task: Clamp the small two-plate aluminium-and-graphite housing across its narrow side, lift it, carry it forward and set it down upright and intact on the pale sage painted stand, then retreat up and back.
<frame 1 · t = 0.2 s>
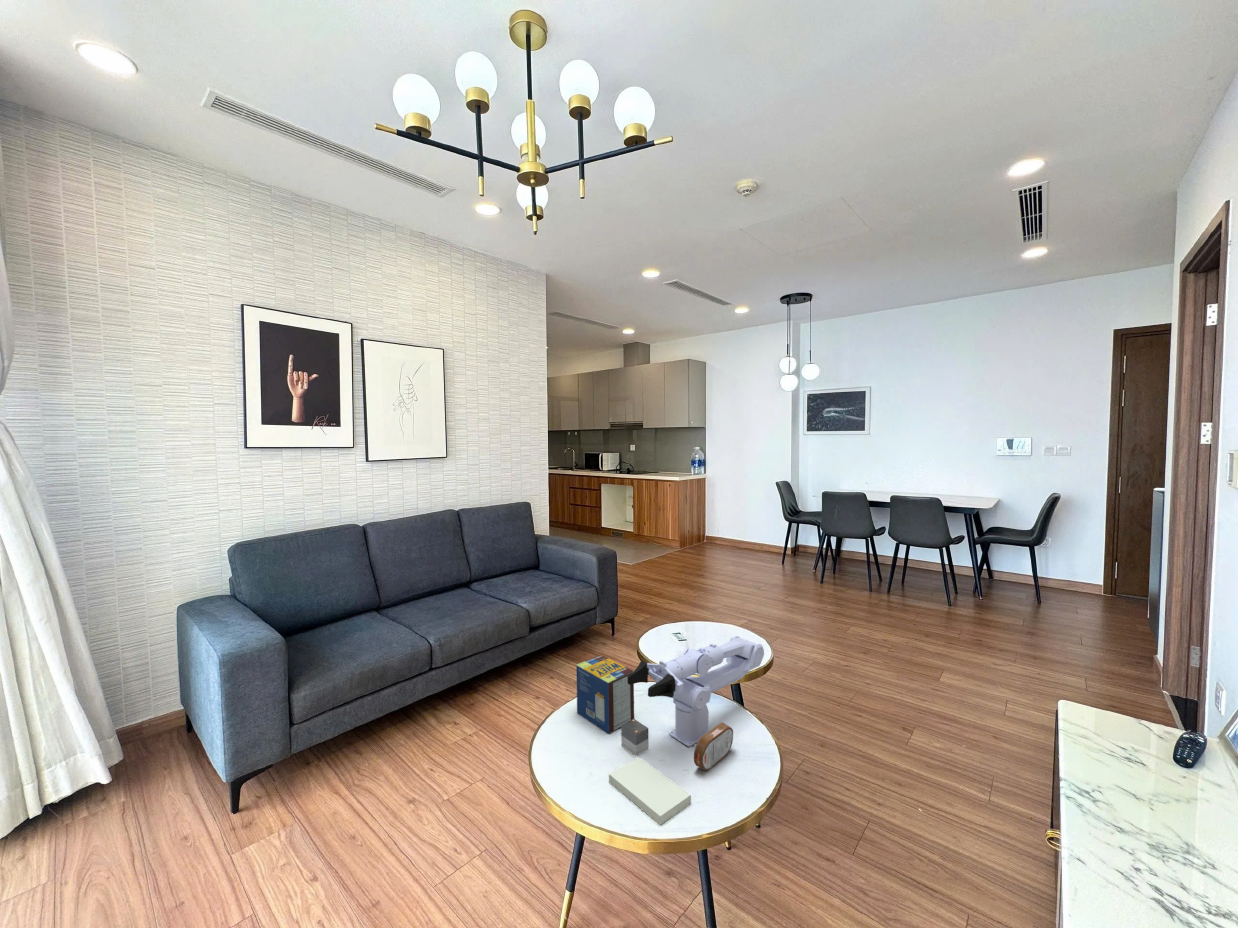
hand: (638, 686, 128), 21 cm above the table, tool horizontal, fingers open, 7 cm apart
housing: (634, 747, 137), on the table
sage stand: (648, 791, 119), on the table
protein box: (605, 717, 152), on the table
tin: (714, 761, 131), on the table
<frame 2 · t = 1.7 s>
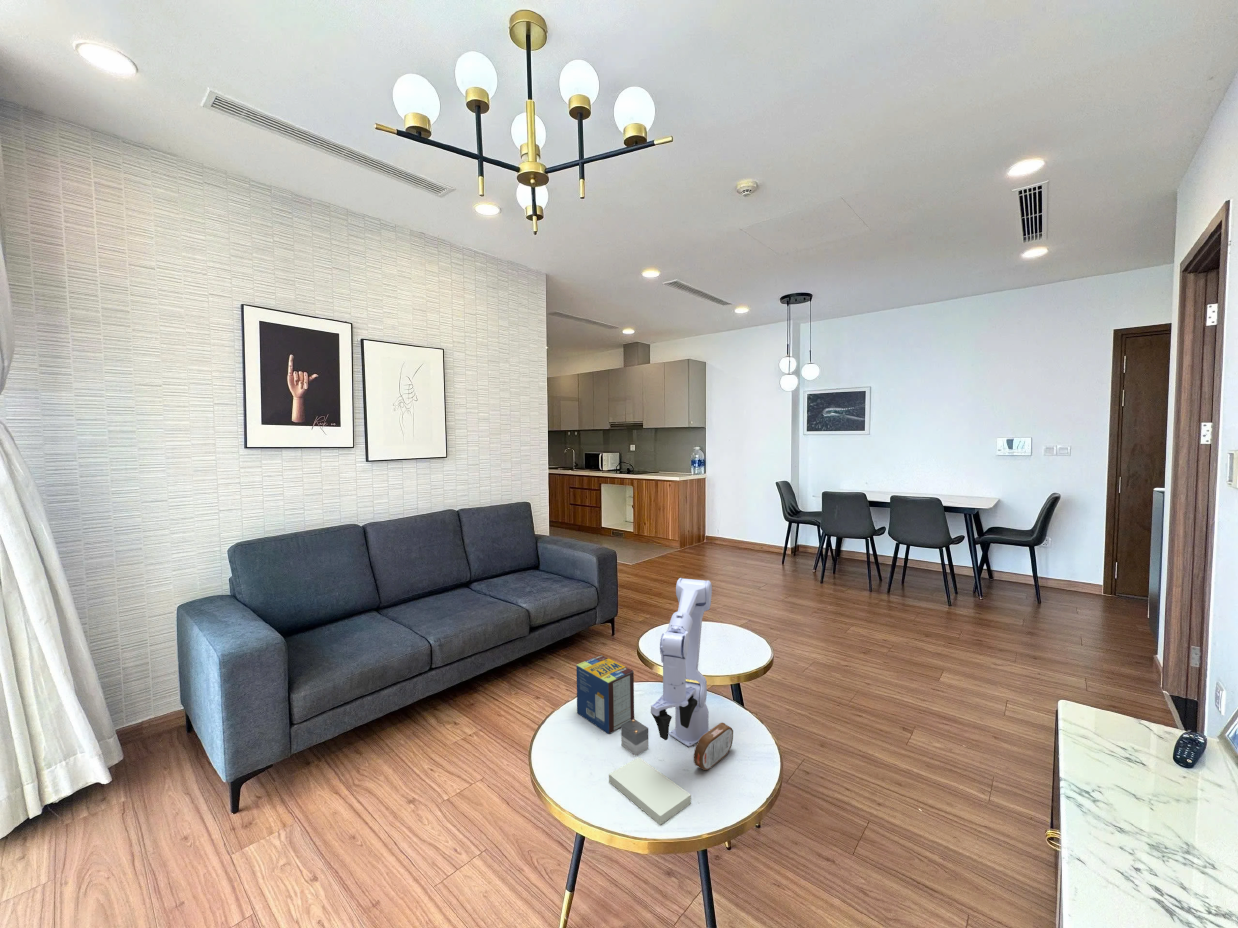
hand: (674, 731, 126), 10 cm above the table, tool pointing down, fingers open, 7 cm apart
nothing on the table moved.
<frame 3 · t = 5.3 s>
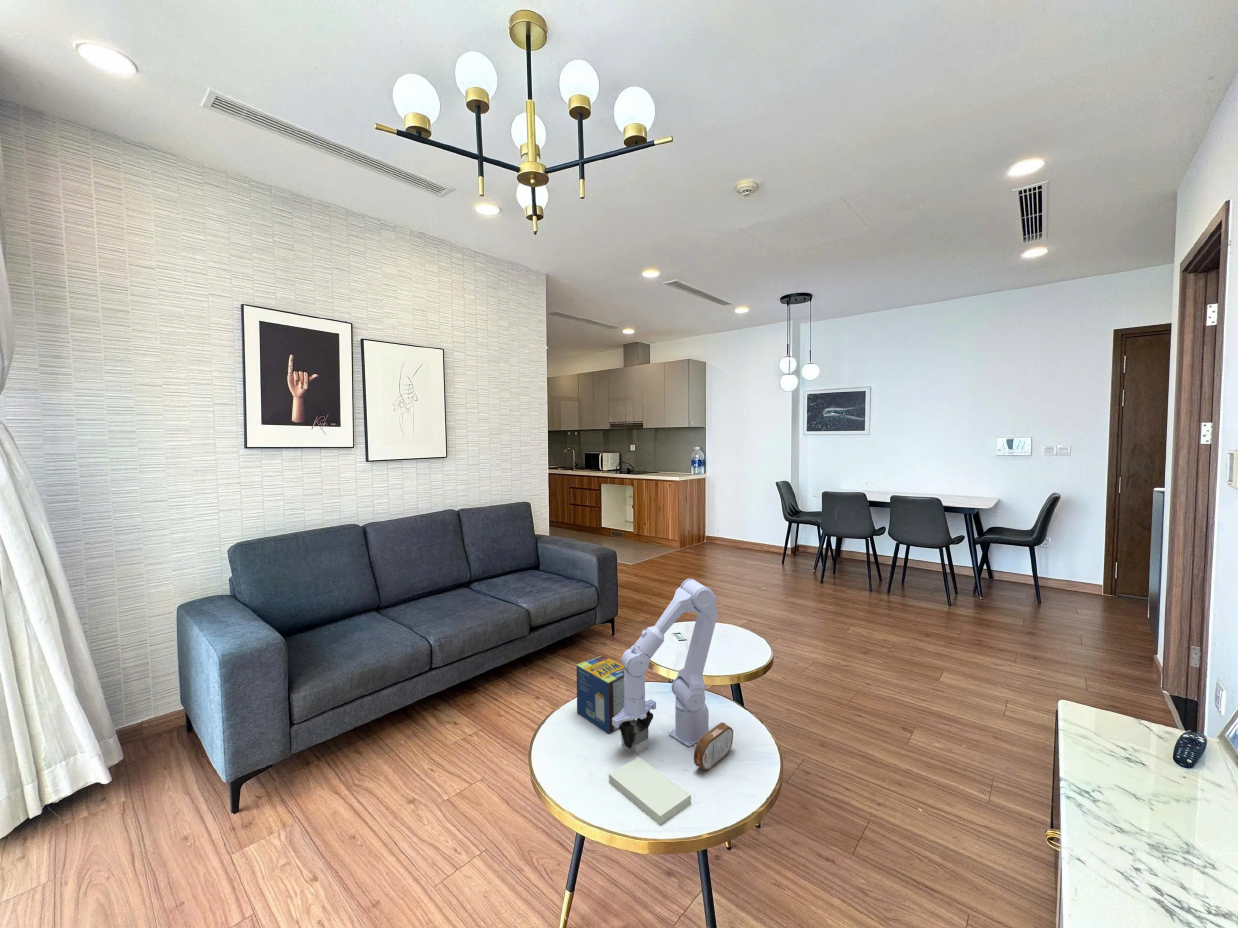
hand: (634, 742, 136), 1 cm above the table, tool pointing down, fingers closed on housing, 5 cm apart
housing: (634, 747, 137), on the table, touching gripper
everything else where it was.
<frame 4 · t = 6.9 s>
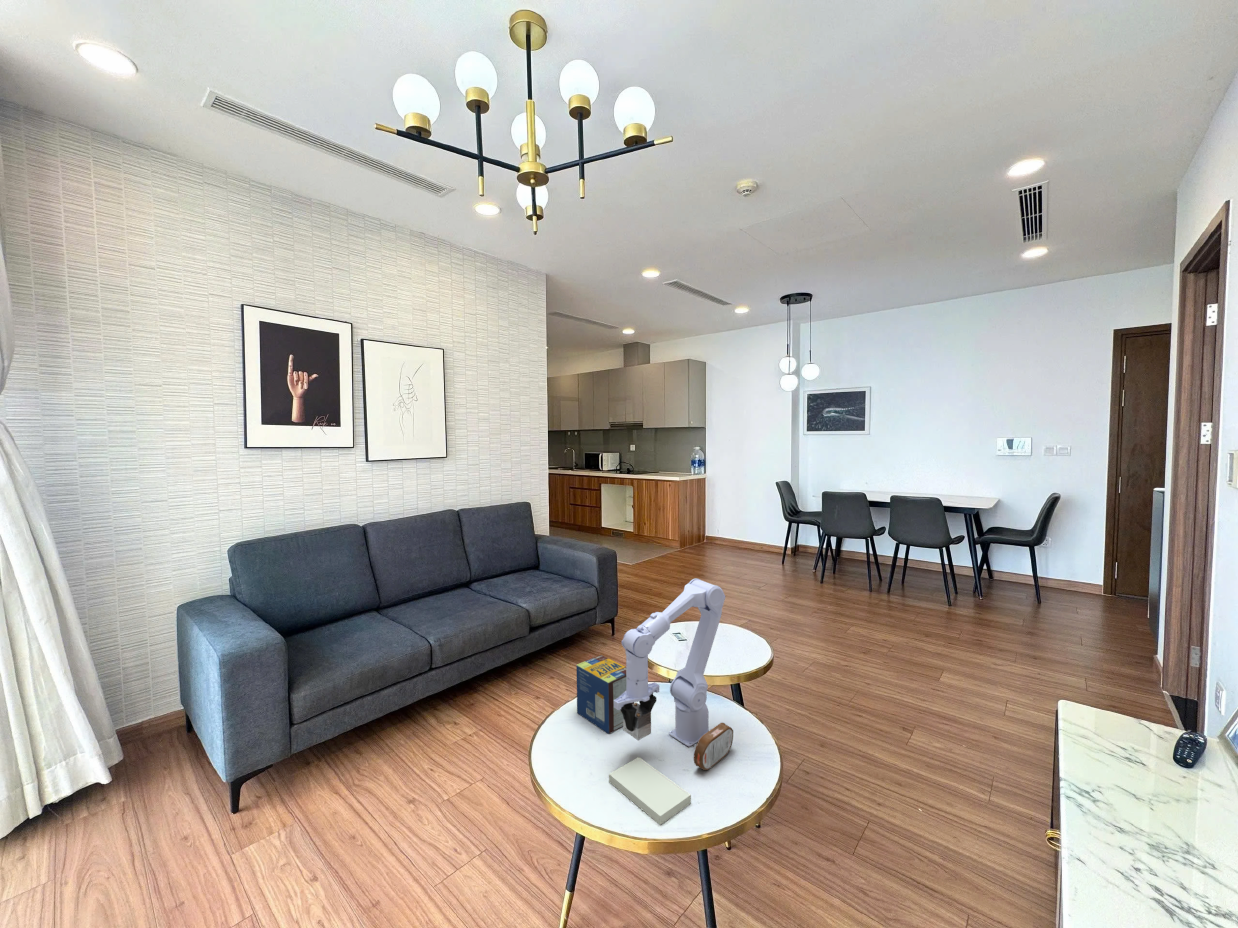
hand: (637, 725, 132), 8 cm above the table, tool pointing down, fingers closed on housing, 5 cm apart
housing: (637, 731, 132), point 7 cm above the table, touching gripper
everything else where it was.
when the fingers open (4 cm above the table, at t = 8.9 s): housing stays where it is, resting on sage stand.
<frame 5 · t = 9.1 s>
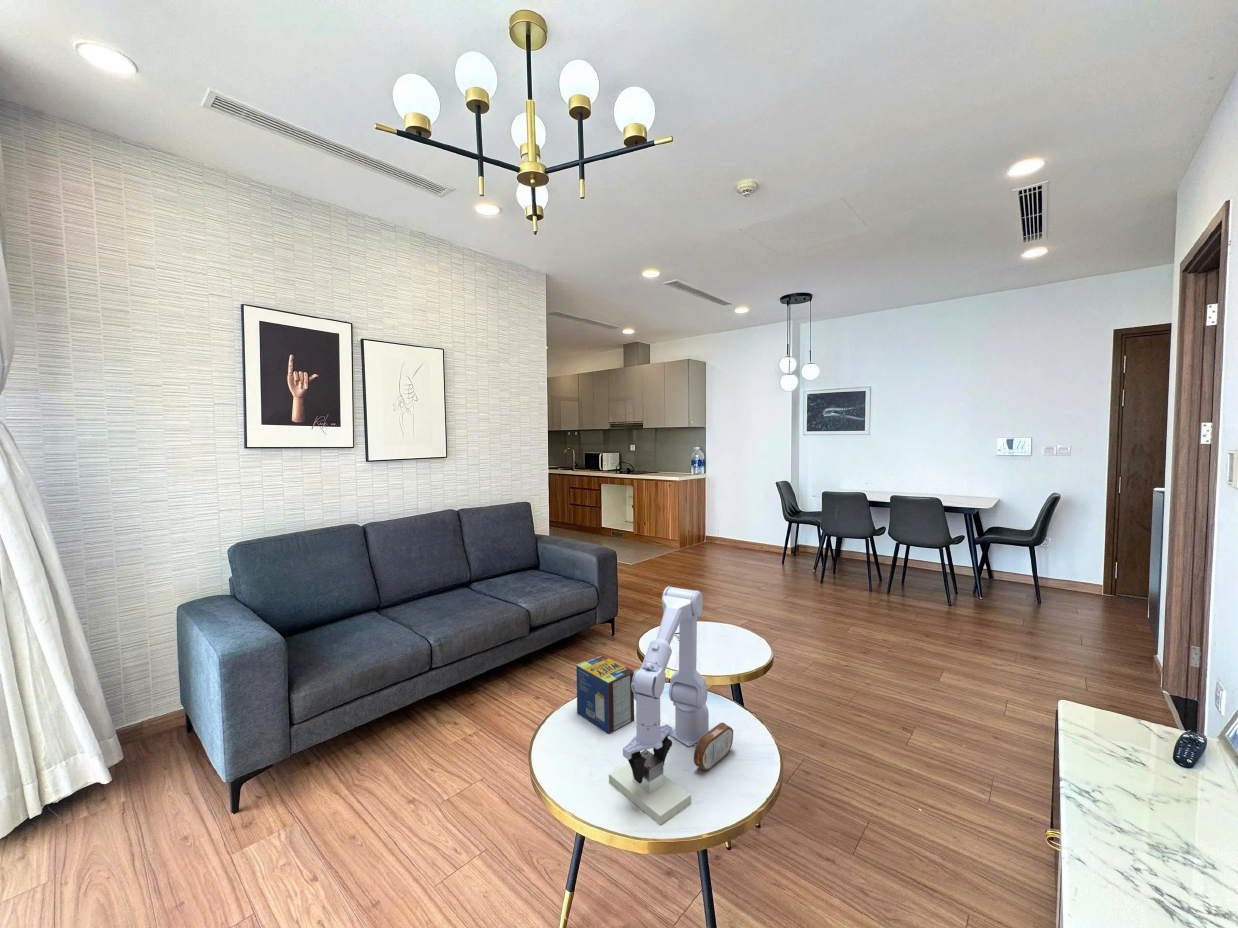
hand: (648, 774, 119), 4 cm above the table, tool pointing down, fingers open, 6 cm apart
housing: (647, 783, 119), point 2 cm above the table, touching sage stand
everything else where it was.
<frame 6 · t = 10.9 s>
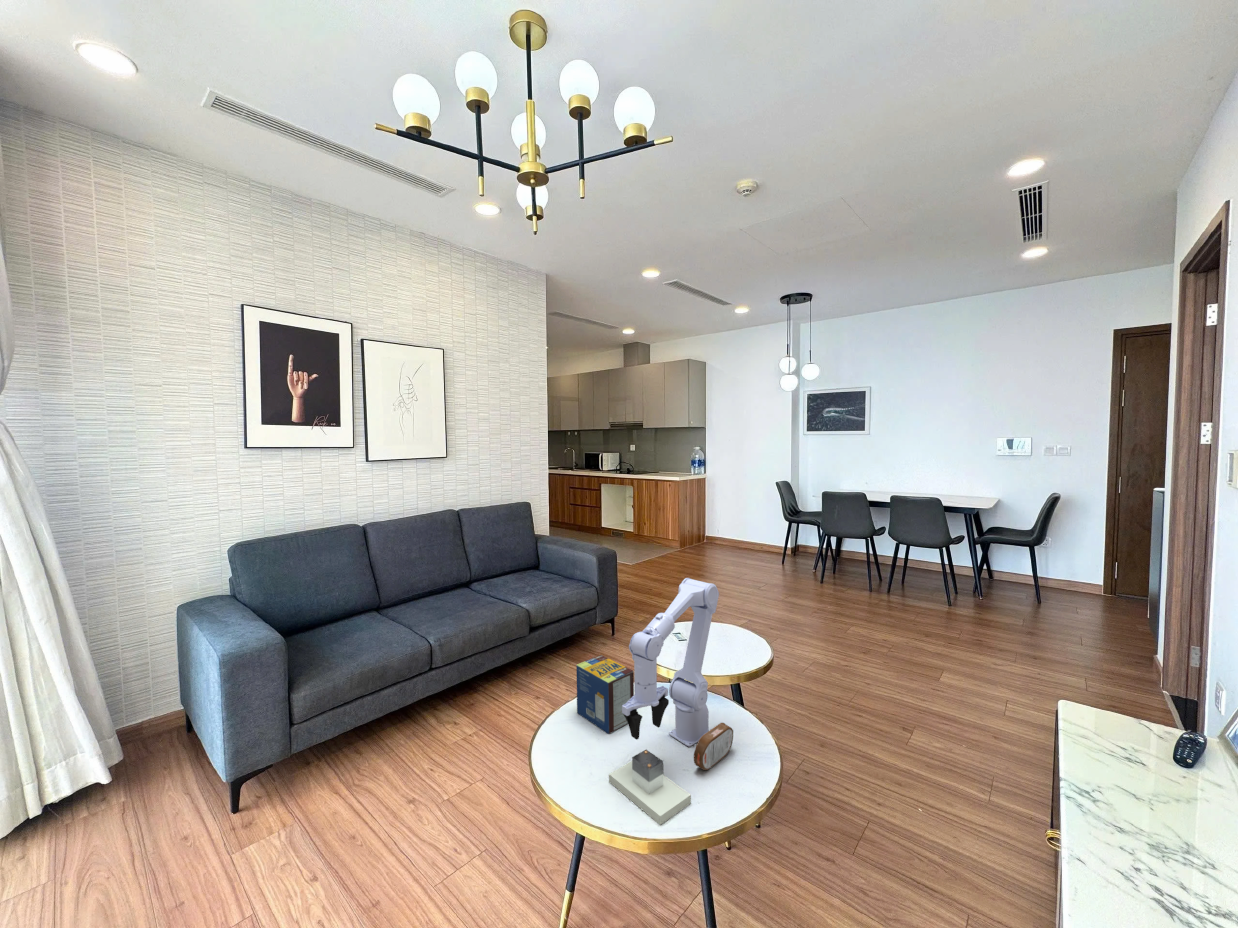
hand: (646, 731, 128), 10 cm above the table, tool pointing down, fingers open, 7 cm apart
nothing on the table moved.
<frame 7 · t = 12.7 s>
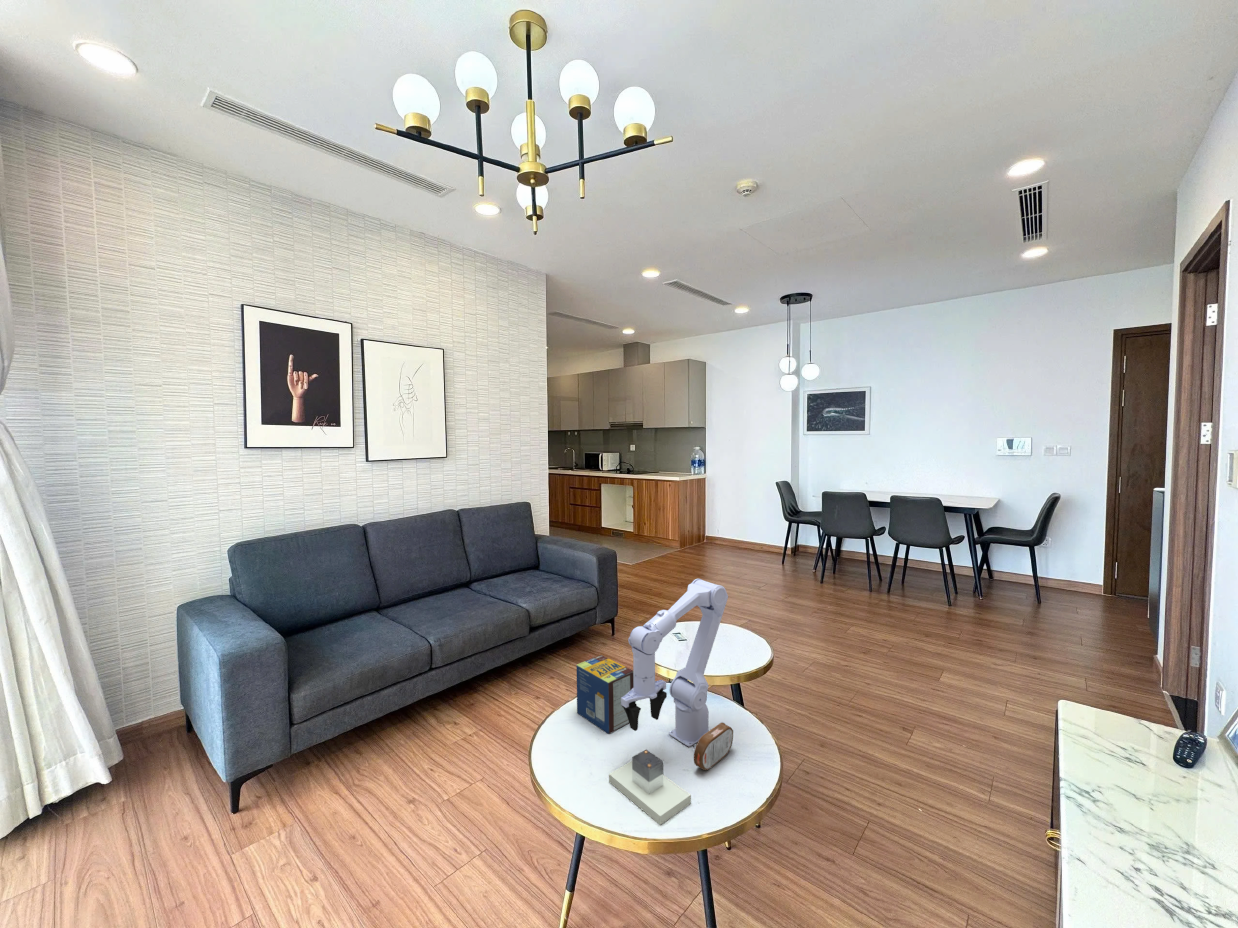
hand: (644, 723, 132), 9 cm above the table, tool pointing down, fingers open, 7 cm apart
nothing on the table moved.
at the end: housing 0.4 cm off-centre on the sage stand, point 2.0 cm above the sage stand's base; housing tilted 0°; the gripper is holding nothing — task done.
